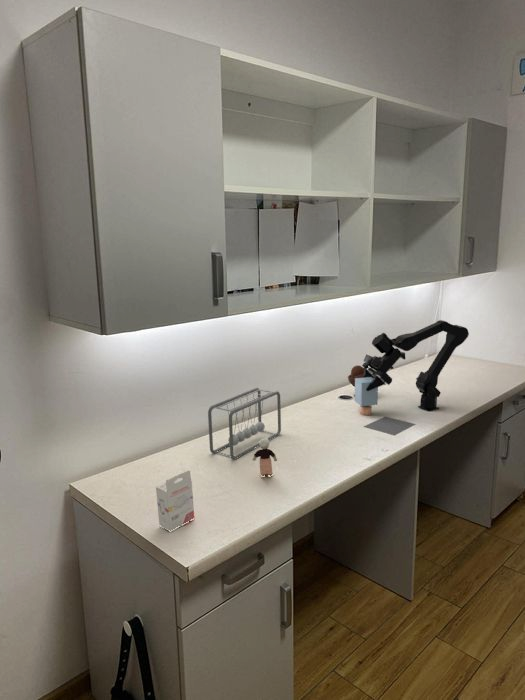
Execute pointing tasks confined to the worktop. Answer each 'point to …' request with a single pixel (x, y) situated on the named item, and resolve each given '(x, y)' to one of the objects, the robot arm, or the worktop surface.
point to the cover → (365, 392)
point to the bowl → (366, 410)
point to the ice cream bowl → (355, 374)
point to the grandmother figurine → (265, 457)
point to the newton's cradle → (248, 431)
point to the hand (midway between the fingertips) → (363, 387)
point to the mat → (389, 425)
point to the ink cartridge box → (175, 501)
